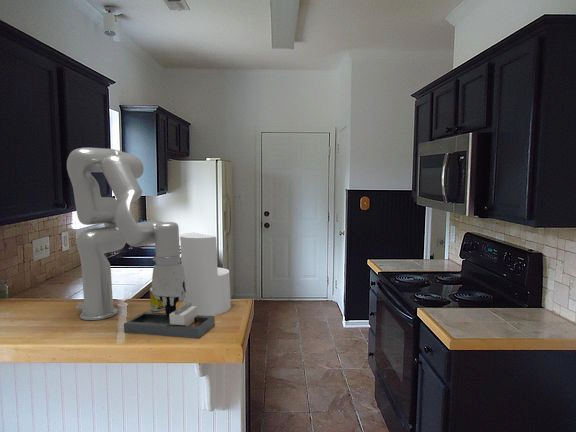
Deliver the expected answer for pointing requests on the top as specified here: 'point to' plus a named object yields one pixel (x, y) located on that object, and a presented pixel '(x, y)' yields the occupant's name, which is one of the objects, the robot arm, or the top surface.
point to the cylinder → (204, 275)
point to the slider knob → (183, 315)
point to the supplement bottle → (156, 303)
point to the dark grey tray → (168, 325)
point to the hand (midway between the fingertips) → (171, 316)
